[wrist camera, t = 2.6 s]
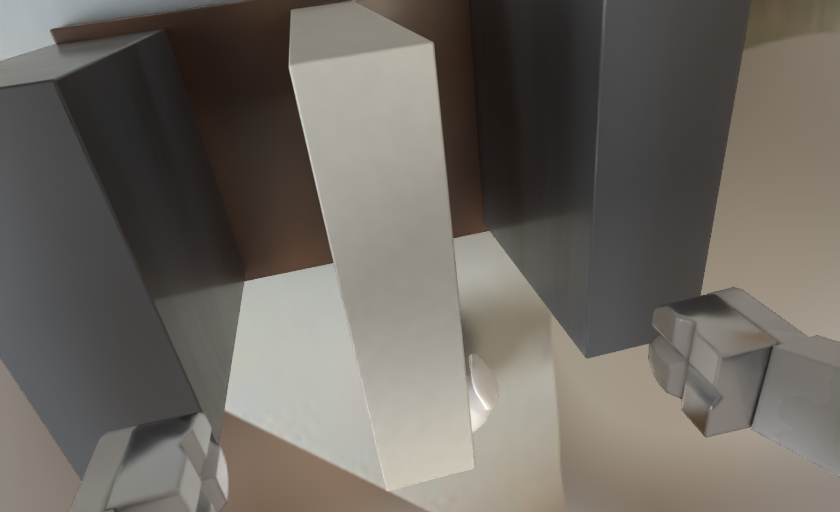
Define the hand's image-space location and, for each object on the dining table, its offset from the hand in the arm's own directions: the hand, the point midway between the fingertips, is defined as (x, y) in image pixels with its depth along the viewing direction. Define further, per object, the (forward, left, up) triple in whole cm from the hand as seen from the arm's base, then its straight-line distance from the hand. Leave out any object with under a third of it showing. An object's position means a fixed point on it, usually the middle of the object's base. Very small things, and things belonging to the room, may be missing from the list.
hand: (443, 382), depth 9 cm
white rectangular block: (0, 0, -16) cm, 16 cm away
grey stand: (0, 0, -17) cm, 17 cm away
